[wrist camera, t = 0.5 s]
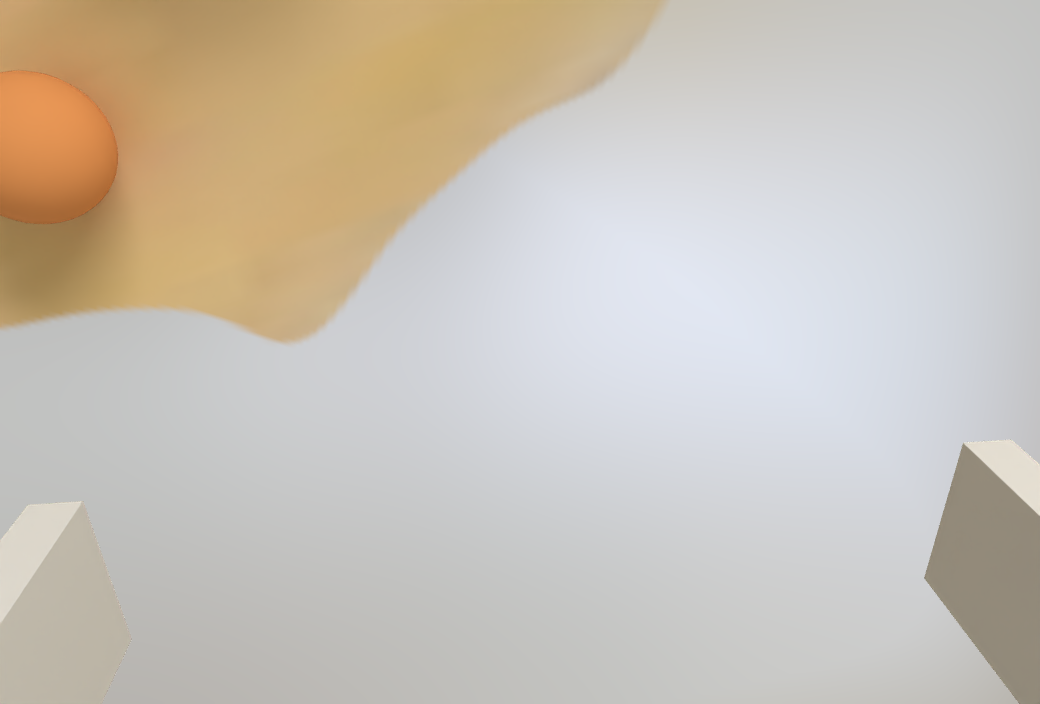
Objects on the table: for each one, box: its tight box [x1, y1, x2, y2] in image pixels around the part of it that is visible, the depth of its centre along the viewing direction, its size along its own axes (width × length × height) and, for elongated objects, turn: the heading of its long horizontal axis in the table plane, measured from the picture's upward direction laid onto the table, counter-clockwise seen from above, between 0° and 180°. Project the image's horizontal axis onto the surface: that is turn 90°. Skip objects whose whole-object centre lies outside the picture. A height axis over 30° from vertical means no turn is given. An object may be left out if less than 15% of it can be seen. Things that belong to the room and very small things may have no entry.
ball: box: [0, 71, 118, 224], centre depth 29 cm, size 6×6×6 cm
